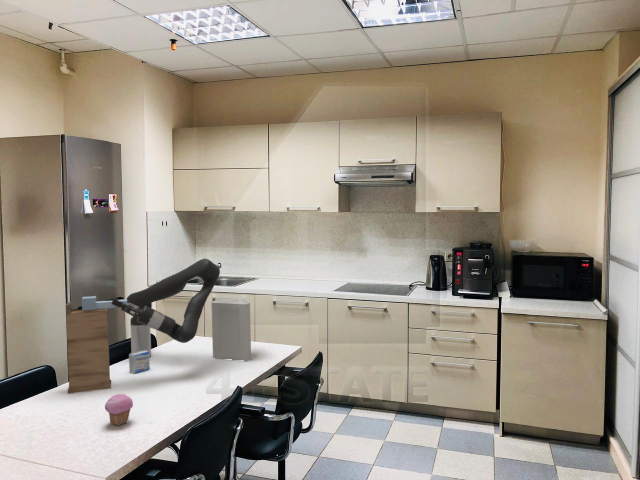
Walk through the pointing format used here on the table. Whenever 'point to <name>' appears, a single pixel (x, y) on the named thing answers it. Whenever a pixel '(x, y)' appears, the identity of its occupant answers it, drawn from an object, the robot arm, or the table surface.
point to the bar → (97, 303)
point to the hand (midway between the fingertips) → (112, 300)
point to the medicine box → (139, 362)
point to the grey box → (231, 329)
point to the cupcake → (119, 408)
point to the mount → (87, 349)
